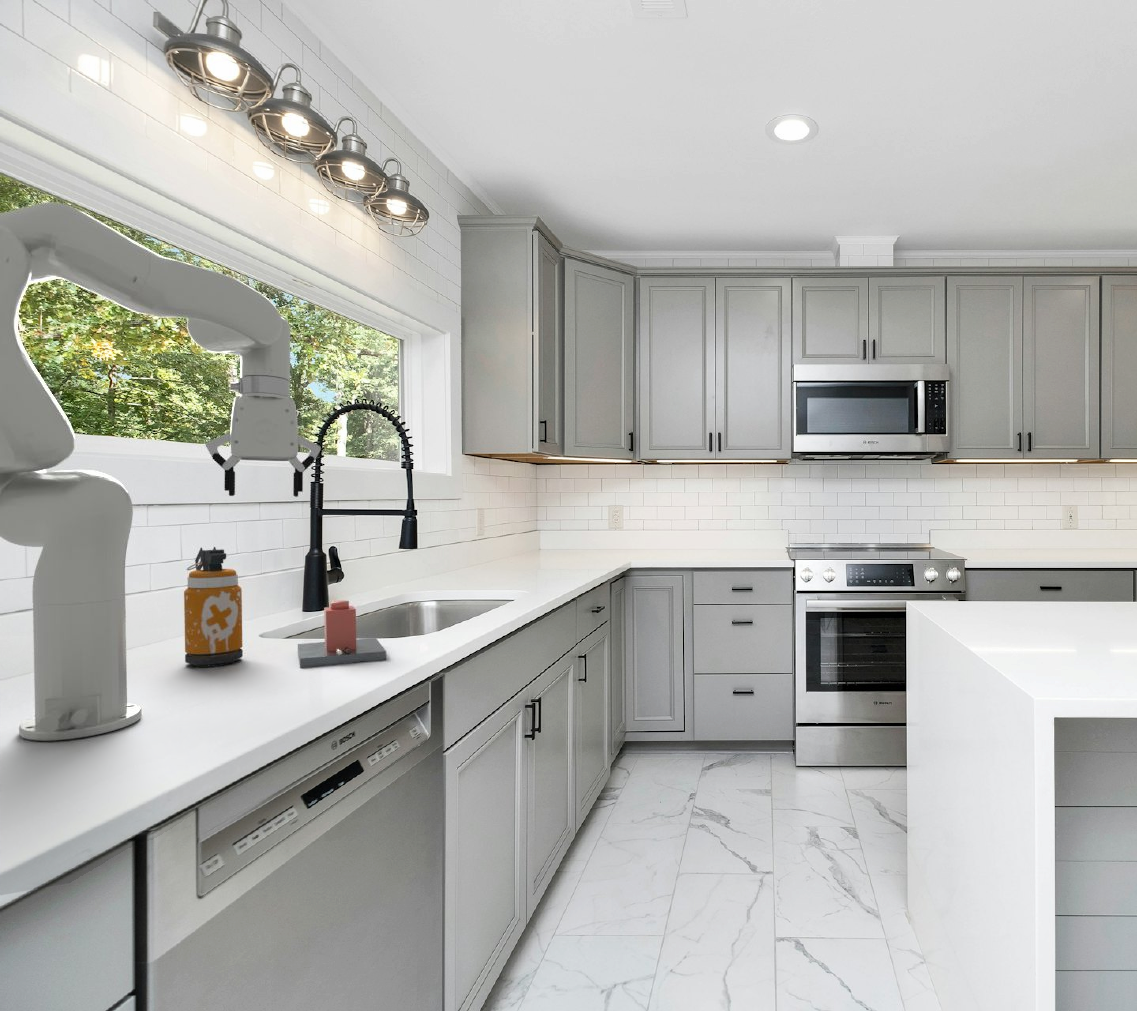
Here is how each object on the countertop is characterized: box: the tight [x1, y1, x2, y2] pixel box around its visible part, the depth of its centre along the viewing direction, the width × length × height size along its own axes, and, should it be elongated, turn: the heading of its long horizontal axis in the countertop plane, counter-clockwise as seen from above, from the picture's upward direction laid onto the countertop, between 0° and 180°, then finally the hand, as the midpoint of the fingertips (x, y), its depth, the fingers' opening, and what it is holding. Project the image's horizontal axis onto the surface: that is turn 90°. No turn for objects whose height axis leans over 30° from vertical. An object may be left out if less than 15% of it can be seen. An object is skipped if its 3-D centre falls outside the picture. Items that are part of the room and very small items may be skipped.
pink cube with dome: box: [323, 600, 357, 651], centre depth 131 cm, size 5×5×8 cm
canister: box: [183, 546, 244, 668], centre depth 127 cm, size 9×11×20 cm
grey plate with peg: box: [297, 637, 387, 669], centre depth 130 cm, size 14×14×6 cm
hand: (264, 495), depth 119 cm, fingers open, 9 cm apart
